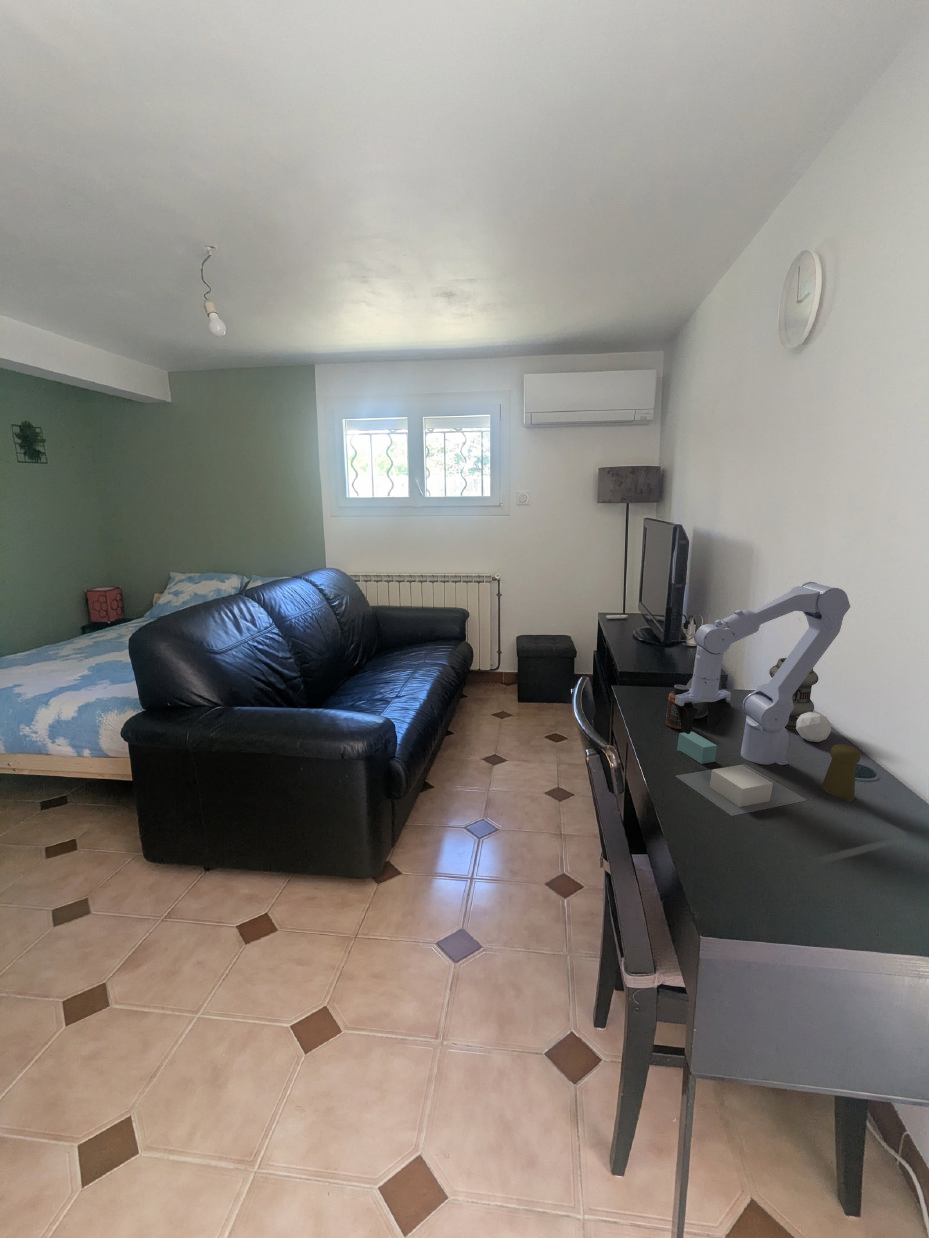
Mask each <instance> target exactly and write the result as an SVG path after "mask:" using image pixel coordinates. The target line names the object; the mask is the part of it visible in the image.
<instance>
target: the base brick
mask: <svg viewBox="0 0 929 1238" xmlns="http://www.w3.org/2000/svg"><path fill="white" fill-rule="evenodd" d="M730 766H731V767H730ZM730 766H726V767H725V766H724V767H725V768H724V767H720V768H719V767H718V768H719V769H718V768H713V770H712V769H711V770H712V774H711V780H710V787H711V788H712V789H713V790H715V791H716V792H718V793H719V794H721V795H722V796H724V797H725V798H727V799H728V800H730V801H731V802H733V803H734V804H736V805H737V806H739V807H742V806H747V805H752V804H757V803H762V802H767V801H770V798H771V792H772V786H773V783H772V782H770V781H768V780H767V779H765V778H763V777H761V776H760V775H758V774H756V773H755V772H753V771H751V770H749V769H748V768H746V767H744V766H743V765H742V764H737V766H736V765H730Z"/></svg>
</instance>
